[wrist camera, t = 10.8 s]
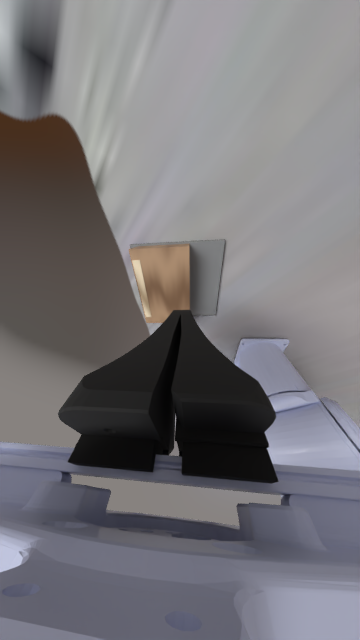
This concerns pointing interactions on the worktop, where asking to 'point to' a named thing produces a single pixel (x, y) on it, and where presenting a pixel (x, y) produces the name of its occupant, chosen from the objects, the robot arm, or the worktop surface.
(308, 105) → the worktop surface
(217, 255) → the mat
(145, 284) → the slab
